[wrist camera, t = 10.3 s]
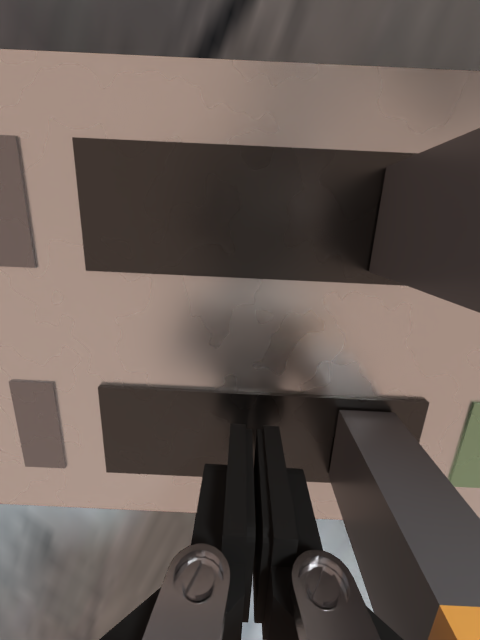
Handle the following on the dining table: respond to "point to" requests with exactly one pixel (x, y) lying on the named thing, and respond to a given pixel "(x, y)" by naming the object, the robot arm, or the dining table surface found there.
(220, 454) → the panel
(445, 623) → the block
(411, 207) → the block
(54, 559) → the dining table surface
